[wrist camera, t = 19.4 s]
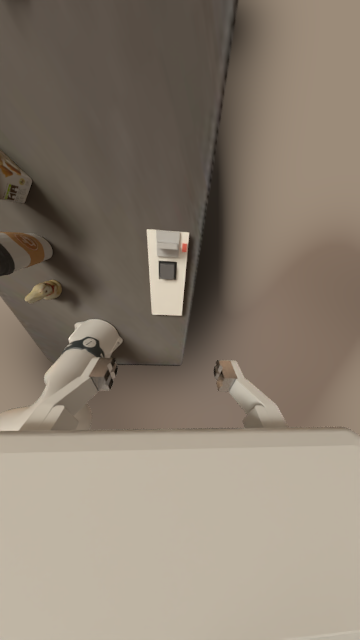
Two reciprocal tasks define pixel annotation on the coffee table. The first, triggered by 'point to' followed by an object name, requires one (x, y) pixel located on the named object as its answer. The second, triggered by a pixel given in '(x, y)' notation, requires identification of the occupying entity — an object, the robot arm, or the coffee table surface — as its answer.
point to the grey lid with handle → (167, 243)
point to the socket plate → (167, 291)
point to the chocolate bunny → (44, 291)
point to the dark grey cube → (167, 270)
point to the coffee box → (13, 181)
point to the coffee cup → (22, 251)
